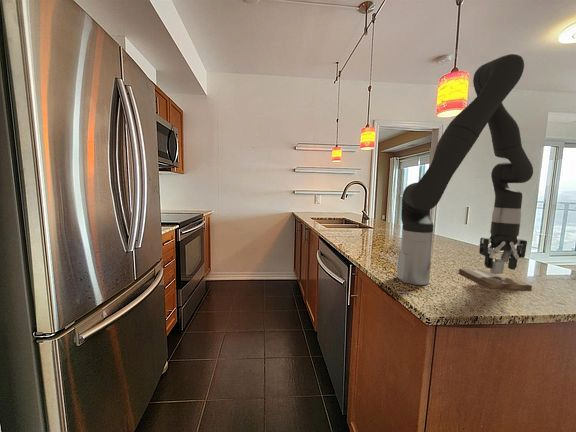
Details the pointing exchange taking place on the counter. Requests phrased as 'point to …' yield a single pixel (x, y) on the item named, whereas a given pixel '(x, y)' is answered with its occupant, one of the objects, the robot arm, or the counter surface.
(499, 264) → the lighter
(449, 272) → the counter surface
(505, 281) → the brown flat slab
